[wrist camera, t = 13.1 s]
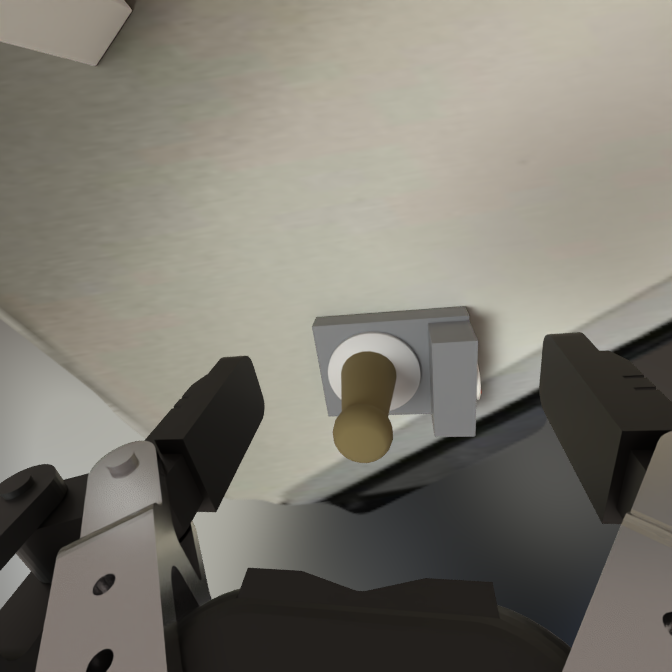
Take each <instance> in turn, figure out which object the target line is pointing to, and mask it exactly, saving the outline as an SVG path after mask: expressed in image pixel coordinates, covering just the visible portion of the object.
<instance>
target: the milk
mask: <svg viewBox="0 0 672 672" xmlns="http://www.w3.org/2000/svg"><path fill="white" fill-rule="evenodd" d="M131 12H132V9H131V8H130V7H129V5H128V4H127V3H126V2H125V1H124V0H0V41H1V42H5V43H9V44H12V45H16V46H20V47H24V48H28V49H32V50H35V51H39V52H43V53H47V54H51V55H55V56H58V57H62V58H66V59H70V60H74V61H77V62H81V63H85V64H89V65H93V66H96V65H97V64H98V62H99V61H100V59H101V58H102V56H103V54H104V53H105V51H106V50H107V48H108V47H109V45H110V44H111V42H112V41H113V39H114V38H115V36H116V35H117V33H118V32H119V30H120V29H121V27H122V25H123V24H124V22H125V21H126V19H127V18H128V16H129V15H130V13H131Z"/></svg>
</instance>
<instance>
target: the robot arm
mask: <svg viewBox="0 0 672 672" xmlns="http://www.w3.org/2000/svg"><path fill="white" fill-rule="evenodd" d="M539 392H540V400H541V404H542V408H543V410H544V412H545V414H546V416H547V418H548V420H549V422H550V424H551V426H552V427H553V430H554V432H555V433H556V436H557V437H558V439H559V441H560V443H561V445H562V447H563V449H564V451H565V453H566V455H567V457H568V458H569V461H570V463H571V464H572V466H573V468H574V470H575V472H576V474H577V476H578V478H579V480H580V482H581V483H582V486H583V488H584V490H585V491H586V493H587V495H588V497H589V499H590V501H591V503H592V505H593V507H594V509H595V510H596V513H597V515H598V516H599V519H600V521H601V522H602V524H603V523H604V524H621V527H620V529H619V532H618V534H617V537H616V539H615V542H614V544H613V547H612V549H611V552H610V554H609V557H608V559H607V562H606V564H605V566H604V569H603V571H602V574H601V577H600V579H599V582H598V584H597V586H596V589H595V592H594V594H593V596H592V599H591V601H590V604H589V606H588V609H587V611H586V614H585V616H584V619H583V622H582V624H581V627H580V629H579V631H578V634H577V636H576V639H575V641H574V644H573V646H572V648H571V647H570V646H568V645H567V644H566V643H565V642H564V641H562V640H561V639H559V638H558V637H557V636H555V635H554V634H553V633H551V632H550V631H549V630H547V629H546V628H544V627H542V626H541V625H539V624H537V623H536V622H534V621H532V620H531V619H529V618H527V617H525V616H523V615H521V614H518V613H516V612H514V611H512V610H510V609H507V608H504V607H501V606H498V605H497V603H496V597H495V593H494V588H493V583H492V582H481V581H464V580H446V579H445V580H444V579H429V578H425V579H420V580H415V581H410V582H406V583H401V584H397V585H392V586H387V587H383V588H378V589H373V590H368V591H356V590H352V589H350V588H347V587H344V586H341V585H339V584H336V583H333V582H331V581H328V580H325V579H322V578H320V577H317V576H314V575H311V574H309V573H306V572H303V571H294V570H277V569H260V568H248V569H247V572H246V575H245V577H244V580H243V583H242V586H241V588H240V589H237V590H234V591H231V592H228V593H225V594H223V595H221V596H218V597H216V598H214V599H211V596H210V592H209V588H208V583H207V579H206V574H205V569H204V564H203V560H202V555H201V550H200V545H199V541H198V536H197V531H196V528H195V525H194V524H193V521H192V520H193V518H194V516H195V514H196V513H197V512H216V511H217V509H218V507H219V505H220V503H221V501H222V499H223V497H224V495H225V493H226V491H227V489H228V487H229V485H230V483H231V481H232V479H233V477H234V475H235V473H236V471H237V469H238V467H239V465H240V463H241V461H242V459H243V457H244V455H245V453H246V451H247V449H248V447H249V445H250V443H251V441H252V439H253V437H254V435H255V433H256V431H257V429H258V427H259V425H260V423H261V421H262V419H263V416H264V399H263V395H262V392H261V389H260V386H259V382H258V379H257V376H256V373H255V369H254V366H253V363H252V361H251V359H250V358H249V357H248V356H235V357H223V358H221V359H220V360H219V361H218V362H217V364H216V365H215V366H214V367H213V368H212V370H211V371H210V372H209V373H208V375H205V376H204V377H203V378H201V379H200V380H198V381H197V382H195V383H194V384H193V385H191V387H190V388H189V389H188V390H187V391H186V392H185V394H184V395H183V396H182V399H180V400H179V401H178V402H177V403H176V404H175V405H174V409H171V410H170V411H169V412H168V414H167V415H166V416H165V417H164V418H163V419H162V421H161V422H160V423H159V424H158V425H157V427H156V428H155V429H154V430H153V431H152V432H151V434H150V435H149V436H148V437H147V438H146V439H145V441H135V442H131V443H128V444H125V445H122V446H120V447H118V448H116V449H115V450H112V451H111V452H109V453H108V454H106V455H105V456H104V457H102V458H101V459H100V460H99V461H98V462H97V463H96V464H95V465H94V467H93V468H92V469H91V471H90V473H88V474H85V475H81V476H77V477H73V478H69V479H65V480H63V479H62V478H61V476H60V475H59V473H58V472H57V470H56V469H55V467H54V466H52V465H49V464H42V465H37V466H33V467H30V468H27V469H25V470H23V471H20V472H18V473H16V474H14V475H13V476H11V477H9V478H7V479H6V480H4V481H3V482H1V483H0V570H1V569H2V568H3V567H4V566H5V565H6V564H7V562H8V561H9V560H10V559H11V558H12V557H13V556H14V554H15V553H16V554H17V555H18V556H19V558H20V559H21V560H22V561H23V562H24V563H25V565H26V566H27V567H28V568H29V569H30V570H31V572H30V574H29V575H28V576H27V577H26V579H25V580H24V581H23V582H22V584H21V585H20V586H19V587H18V589H17V590H16V591H15V592H14V594H13V595H12V596H11V597H10V598H9V600H8V601H7V602H6V603H5V605H4V606H3V607H2V608H1V610H0V672H672V402H671V401H670V400H669V399H668V398H667V397H666V396H665V395H664V394H663V393H662V392H661V391H660V390H656V386H655V385H654V384H652V382H650V381H649V379H647V378H644V375H643V374H642V373H641V372H640V371H639V370H638V369H637V368H636V367H635V366H634V365H633V364H632V363H631V362H630V361H628V360H626V359H624V358H622V357H620V356H618V355H616V354H614V353H612V352H610V351H599V350H598V349H597V348H596V347H595V346H594V345H593V344H592V343H591V341H590V340H589V339H588V338H587V337H586V336H585V335H584V334H583V333H581V332H577V333H563V334H549V335H546V336H545V338H544V341H543V350H542V362H541V374H540V386H539Z"/></svg>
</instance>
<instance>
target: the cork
mask: <svg viewBox="0 0 672 672" xmlns="http://www.w3.org/2000/svg"><path fill="white" fill-rule="evenodd" d="M396 379H397V376H396V369H395V367H394V365H393V363H392V362H391V361H390V360H389V359H388V358H387V357H385V356H384V355H382V354H380V353H376V352H372V351H363V352H359V353H356V354H353V355H352V356H351V357H349V358H348V359H347V360H346V361H345V363H344V364H343V367H342V371H341V402H342V412H341V413H340V415H339V416H338V417H337V419H336V420H335V424H334V429H333V437H334V443H335V445H336V447H337V448H338V450H339V451H340V453H341V454H342V455H344V456H345V457H346V458H348V459H350V460H352V461H355V462H359V463H369V462H373V461H376V460H378V459H380V458H382V457H383V456H384V455H385V454H386V453H387V451H388V450H389V448H390V446H391V443H392V440H393V431H392V425H391V422H390V420H389V418H388V415H389V410H390V406H391V401H392V397H393V392H394V388H395V383H396Z"/></svg>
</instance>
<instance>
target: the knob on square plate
mask: <svg viewBox="0 0 672 672" xmlns="http://www.w3.org/2000/svg"><path fill="white" fill-rule="evenodd" d="M312 329H313V334H314V340H315V345H316V351H317V356H318V362H319V367H320V372H321V378H322V383H323V389H324V394H325V400H326V405H327V411H328V416H339V415H340V413H341V412H342V402H341V371H342V367H343V364H344V363H345V361H346V360H347V359H348V358H349V357H351V356H352V355H353V354H356V353H359V352H363V351H372V352H376V353H380V354H382V355H384V356H385V357H387V358H388V359H389V360H390V361H391V362H392V363H393V365H394V367H395V369H396V376H397V379H396V383H395V388H394V392H393V397H392V401H391V406H390V410H389V415H402V414H431V415H432V422H433V429H434V435H435V437H459V436H475V425H476V400H479V399H480V394H482V391H481V381H480V372H479V366H478V362H477V361H478V339H477V337H476V335H475V332H474V330H473V328H472V326H471V323H470V321H469V314H468V312H467V309H466V307H465V306H462V307H449V308H436V309H422V310H409V311H396V312H382V313H369V314H356V315H342V316H329V317H316V319H315V321H314V323H313V326H312Z"/></svg>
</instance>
